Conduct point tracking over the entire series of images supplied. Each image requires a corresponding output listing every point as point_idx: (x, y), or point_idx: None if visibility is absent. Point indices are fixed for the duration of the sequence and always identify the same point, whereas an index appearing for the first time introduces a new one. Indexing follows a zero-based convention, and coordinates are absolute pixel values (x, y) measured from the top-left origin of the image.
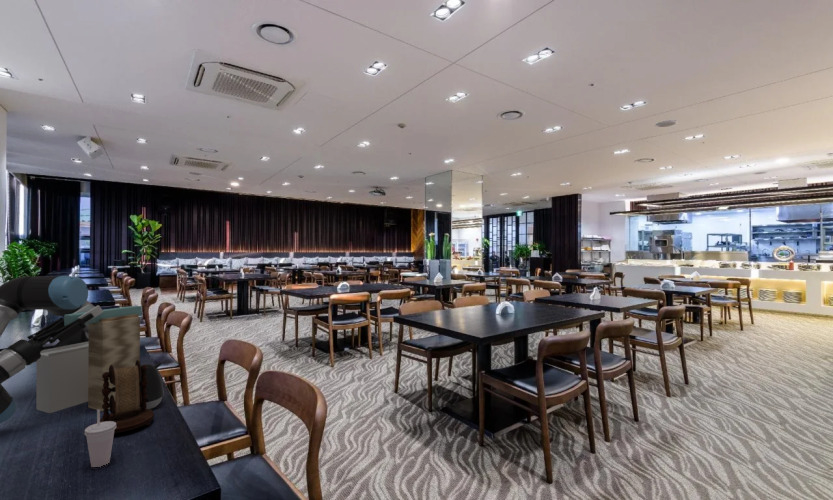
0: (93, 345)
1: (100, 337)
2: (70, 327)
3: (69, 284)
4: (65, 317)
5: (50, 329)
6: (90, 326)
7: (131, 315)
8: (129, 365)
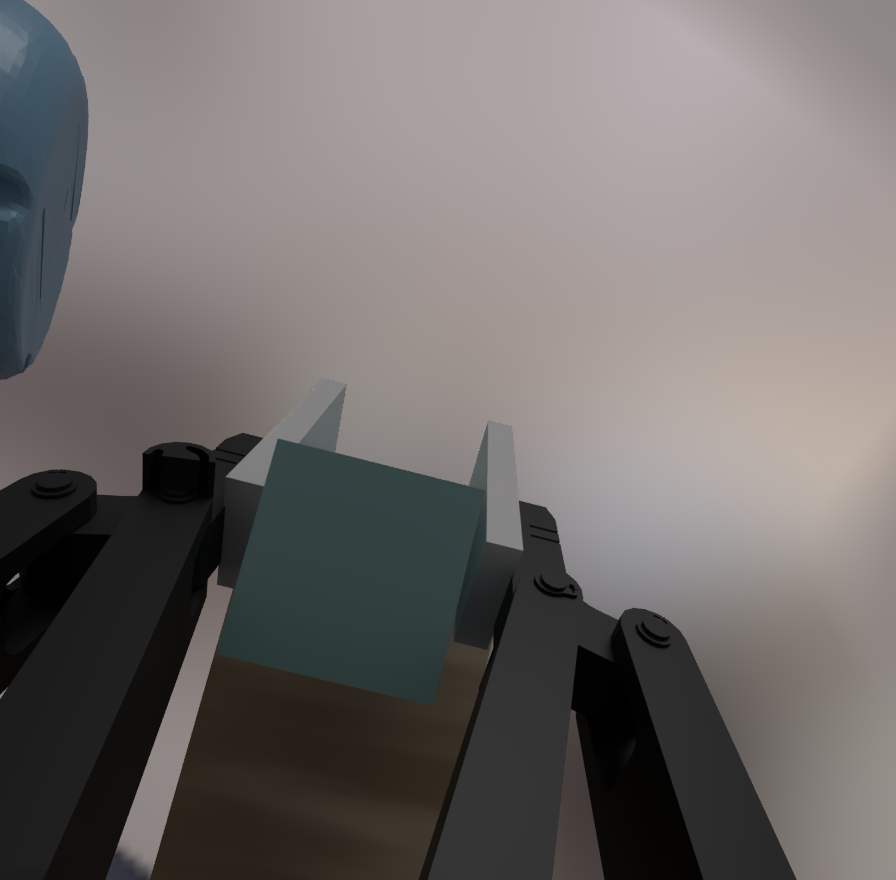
0: (256, 862)
1: (417, 782)
2: (745, 804)
3: (68, 84)
4: (306, 498)
5: (43, 836)
6: None
7: None
8: None
